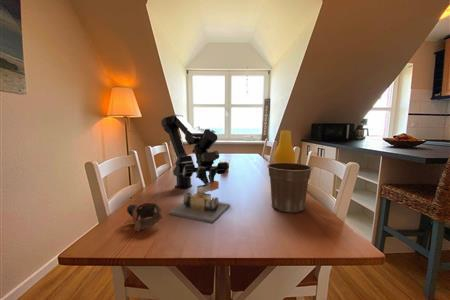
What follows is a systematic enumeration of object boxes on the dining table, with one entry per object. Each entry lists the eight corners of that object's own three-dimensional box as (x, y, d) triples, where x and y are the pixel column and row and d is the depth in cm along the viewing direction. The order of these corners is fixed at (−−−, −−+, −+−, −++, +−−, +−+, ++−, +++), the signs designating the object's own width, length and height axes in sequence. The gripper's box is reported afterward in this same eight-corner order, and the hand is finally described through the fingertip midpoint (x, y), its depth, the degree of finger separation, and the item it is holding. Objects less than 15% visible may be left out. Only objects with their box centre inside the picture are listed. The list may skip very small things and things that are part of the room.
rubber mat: (169, 214, 73) (169, 211, 73) (191, 200, 87) (191, 198, 87) (212, 222, 67) (212, 220, 67) (229, 206, 81) (229, 204, 81)
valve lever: (200, 195, 74) (200, 187, 74) (195, 193, 76) (195, 186, 76) (219, 188, 82) (219, 181, 82) (214, 187, 84) (214, 180, 84)
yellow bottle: (271, 194, 95) (273, 130, 91) (274, 189, 103) (276, 130, 100) (292, 197, 91) (295, 131, 88) (294, 191, 100) (297, 130, 96)
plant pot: (263, 199, 89) (264, 161, 87) (301, 199, 89) (303, 162, 87) (270, 215, 73) (271, 170, 71) (317, 216, 73) (319, 170, 71)
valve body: (183, 207, 77) (182, 192, 76) (190, 203, 82) (190, 189, 81) (212, 213, 72) (212, 197, 72) (218, 208, 77) (218, 193, 76)
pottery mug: (167, 219, 70) (167, 203, 66) (152, 244, 63) (150, 228, 58) (136, 208, 72) (133, 191, 67) (117, 231, 64) (112, 214, 60)
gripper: (184, 144, 81) (191, 180, 73) (227, 143, 89) (239, 175, 80) (179, 160, 89) (186, 194, 81) (220, 158, 97) (229, 188, 89)
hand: (211, 187), depth 83 cm, fingers closed
